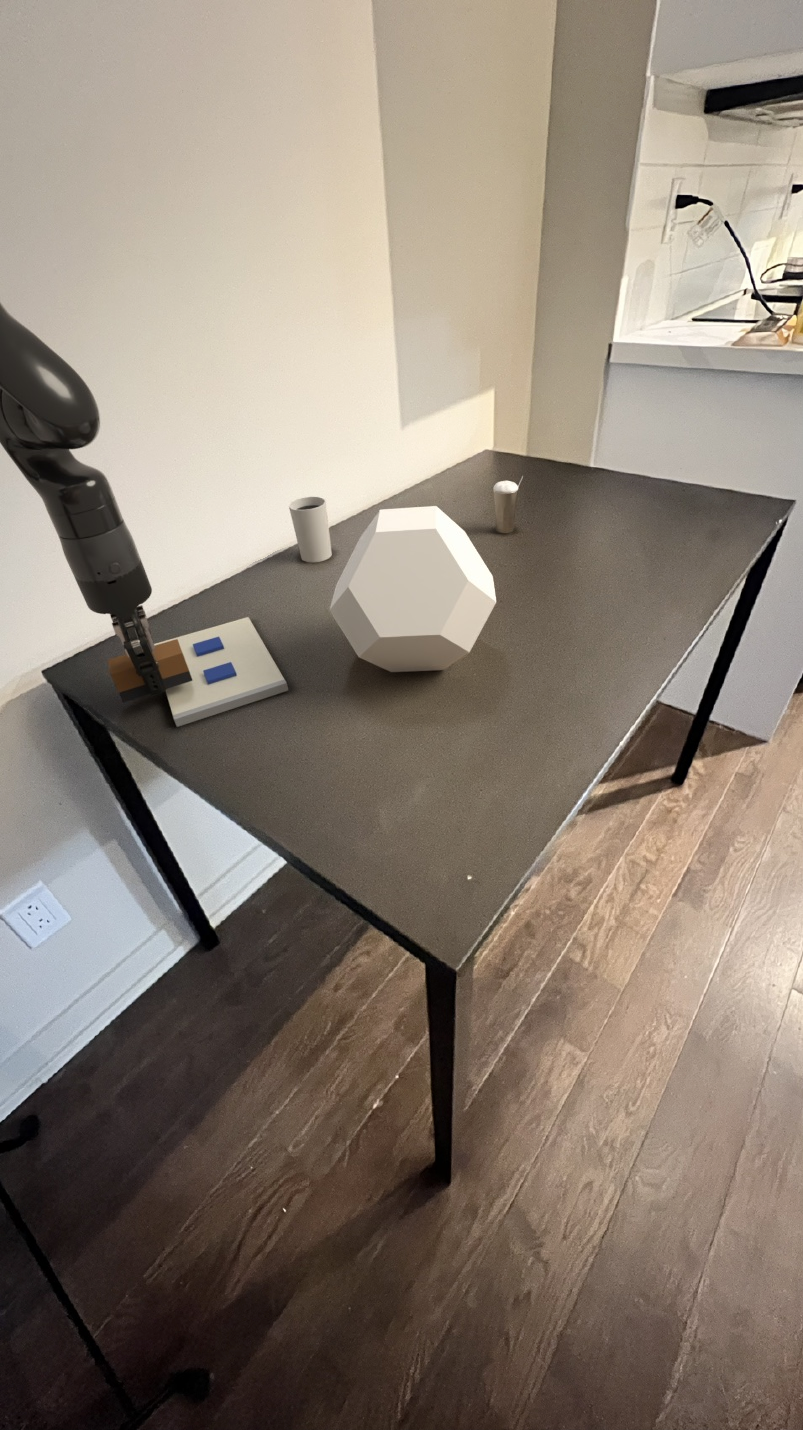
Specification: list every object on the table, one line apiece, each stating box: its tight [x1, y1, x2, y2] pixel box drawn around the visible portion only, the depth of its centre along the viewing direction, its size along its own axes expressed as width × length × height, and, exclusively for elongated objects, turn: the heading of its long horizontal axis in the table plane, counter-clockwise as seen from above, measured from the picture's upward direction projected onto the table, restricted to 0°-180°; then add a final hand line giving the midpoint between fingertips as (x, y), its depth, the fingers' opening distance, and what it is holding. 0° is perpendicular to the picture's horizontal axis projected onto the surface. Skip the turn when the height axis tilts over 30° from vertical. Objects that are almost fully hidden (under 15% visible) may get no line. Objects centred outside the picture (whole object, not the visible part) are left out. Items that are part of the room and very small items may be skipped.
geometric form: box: [328, 505, 497, 673], centre depth 82 cm, size 20×20×20 cm
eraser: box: [107, 639, 193, 703], centre depth 82 cm, size 4×9×4 cm, turn 115°
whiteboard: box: [154, 616, 289, 728], centre depth 89 cm, size 15×21×1 cm
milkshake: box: [492, 475, 524, 534], centre depth 116 cm, size 5×5×10 cm
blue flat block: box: [193, 637, 224, 657], centre depth 92 cm, size 4×3×1 cm
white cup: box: [288, 496, 333, 563], centre depth 114 cm, size 7×7×10 cm
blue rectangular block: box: [203, 662, 237, 684], centre depth 86 cm, size 4×3×1 cm
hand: (155, 682), depth 83 cm, fingers closed on eraser, 4 cm apart
